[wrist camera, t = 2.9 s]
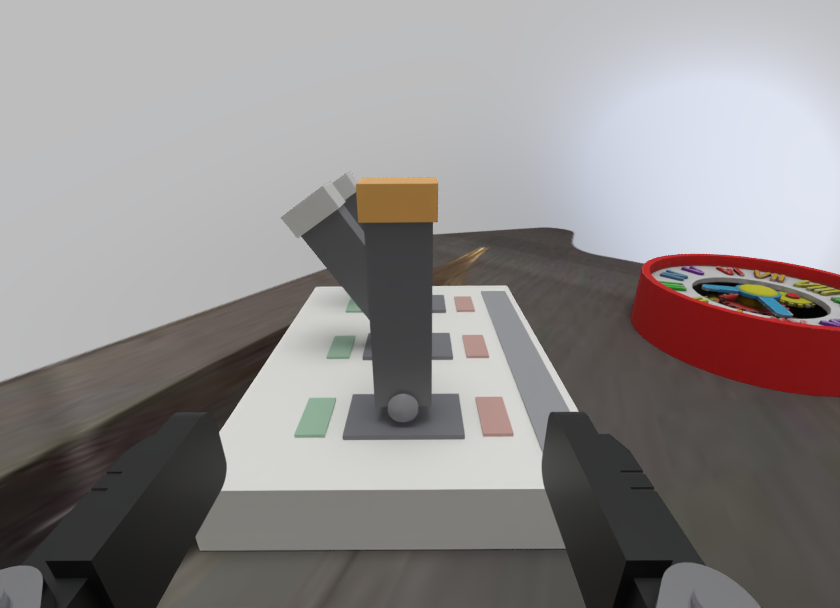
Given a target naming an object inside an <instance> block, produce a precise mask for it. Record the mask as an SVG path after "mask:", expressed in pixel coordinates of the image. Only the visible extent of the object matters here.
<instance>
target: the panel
mask: <svg viewBox="0 0 840 608" xmlns="http://www.w3.org/2000/svg"><path fill="white" fill-rule="evenodd" d="M551 412H579V411H578V410H577V408H576V406H575V404H574V403H573V401H572V399H571V397H570V396H569V394H568V392H567V390H566V389H565V387H564V385H563V383H562V382H561V380H560V378H559V376H558V375H557V373H556V371H555V369H554V368H553V366H552V364H551V362H550V361H549V359H548V357H547V355H546V354H545V352H544V350H543V348H542V347H541V345H540V343H539V341H538V339H537V338H536V336H535V334H534V332H533V331H532V329H531V327H530V325H529V324H528V322H527V320H526V318H525V317H524V315H523V313H522V311H521V310H520V308H519V306H518V304H517V303H516V301H515V299H514V297H513V296H512V294H511V292H510V290H509V289H508V287H507V286H432V406H418V414H417V416H416V417H415V418H414V419H413V420H411V421H409V422H398V421H395V420H393V419H392V418H391V417H390V416H389V414H388V407H375V400H374V383H373V367H372V351H371V335H370V320H369V319H368V318H367V317H366V315H365V314H364V313H363V312H362V311H361V309H360V308H359V307H358V306H357V304H356V303H355V302H354V301H353V299H352V298H351V297H350V296H349V295H348V293H347V292H346V291H345V290H344V288H343V287H316V288H315V289H314V291H313V292H312V294H311V296H310V297H309V299H308V300H307V302H306V303H305V305H304V306H303V308H302V309H301V311H300V312H299V314H298V315H297V317H296V318H295V320H294V321H293V323H292V324H291V326H290V327H289V329H288V330H287V332H286V333H285V335H284V336H283V338H282V339H281V341H280V342H279V344H278V345H277V347H276V348H275V350H274V351H273V353H272V354H271V356H270V357H269V359H268V360H267V362H266V363H265V365H264V366H263V368H262V369H261V371H260V372H259V374H258V375H257V377H256V378H255V380H254V381H253V383H252V384H251V386H250V387H249V389H248V390H247V392H246V393H245V395H244V396H243V398H242V399H241V401H240V402H239V404H238V405H237V407H236V408H235V410H234V411H233V413H232V414H231V416H230V417H229V419H228V420H227V422H226V423H225V425H224V426H223V428H222V429H221V431H220V432H219V435H220V439H221V442H222V446H223V450H224V454H225V458H226V463H227V472H226V478H225V482H224V485H223V487H222V490H221V491H220V493H219V495H218V497H217V499H216V500H215V502H214V504H213V506H212V508H211V510H210V511H209V513H208V515H207V517H206V519H205V520H204V522H203V524H202V526H201V528H200V529H199V531H198V533H197V535H196V540H197V543H198V546H199V549H200V551H247V550H419V549H566V548H565V545H564V542H563V539H562V536H561V534H560V531H559V528H558V525H557V522H556V519H555V516H554V514H553V511H552V508H551V505H550V502H549V499H548V497H547V494H546V491H545V488H544V484H543V478H542V466H541V465H542V455H543V449H544V442H545V435H546V429H547V422H548V417H549V414H550V413H551Z"/></svg>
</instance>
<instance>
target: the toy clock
mask: <svg viewBox="0 0 840 608" xmlns="http://www.w3.org/2000/svg"><path fill="white" fill-rule="evenodd" d="M631 322H632V324H633V326H634V328H635V330H636V331H637V332H638V333H639V334H640V335H641V336H642V337H643V338H644V339H646V340H647V341H648V342H650V343H651V344H652V345H654V346H655V347H657V348H658V349H660V350H662V351H664V352H665V353H667V354H669V355H670V356H673V357H675V358H677V359H679V360H681V361H683V362H685V363H687V364H690V365H692V366H695V367H697V368H700V369H702V370H705V371H707V372H710V373H713V374H716V375H719V376H722V377H726V378H729V379H732V380H735V381H739V382H743V383H747V384H750V385H754V386H758V387H762V388H767V389H773V390H778V391H783V392H789V393H796V394H805V395H813V396H835V397H840V275H838V274H834V273H831V272H826V271H823V270H818V269H814V268H809V267H805V266H799V265H794V264H789V263H783V262H777V261H771V260H765V259H757V258H749V257H741V256H730V255H713V254H678V255H668V256H662V257H657V258H654V259H652V260H649V261H647V262H646V263H645V264H644V265H643V267H642V270H641V274H640V279H639V283H638V287H637V292H636V296H635V300H634V305H633V309H632V314H631Z"/></svg>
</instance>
